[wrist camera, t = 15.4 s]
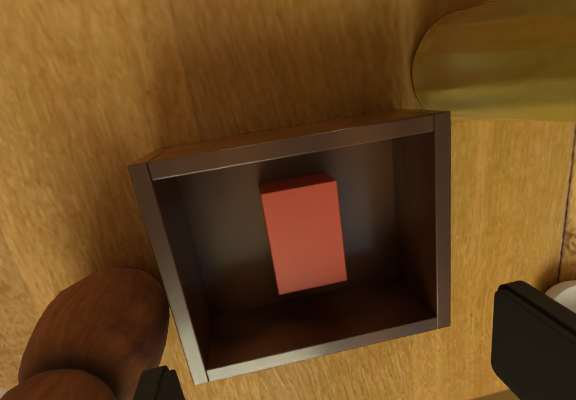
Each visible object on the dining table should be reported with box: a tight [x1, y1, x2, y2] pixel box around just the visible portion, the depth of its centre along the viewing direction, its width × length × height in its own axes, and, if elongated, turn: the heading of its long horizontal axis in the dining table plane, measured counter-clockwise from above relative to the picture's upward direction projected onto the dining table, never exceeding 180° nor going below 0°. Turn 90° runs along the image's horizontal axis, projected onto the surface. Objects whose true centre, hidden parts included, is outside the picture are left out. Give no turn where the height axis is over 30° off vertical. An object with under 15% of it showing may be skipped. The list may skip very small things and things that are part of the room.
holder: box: [127, 109, 451, 385], centre depth 18 cm, size 14×12×5 cm
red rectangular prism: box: [258, 171, 347, 295], centre depth 19 cm, size 6×4×2 cm, turn 9°
